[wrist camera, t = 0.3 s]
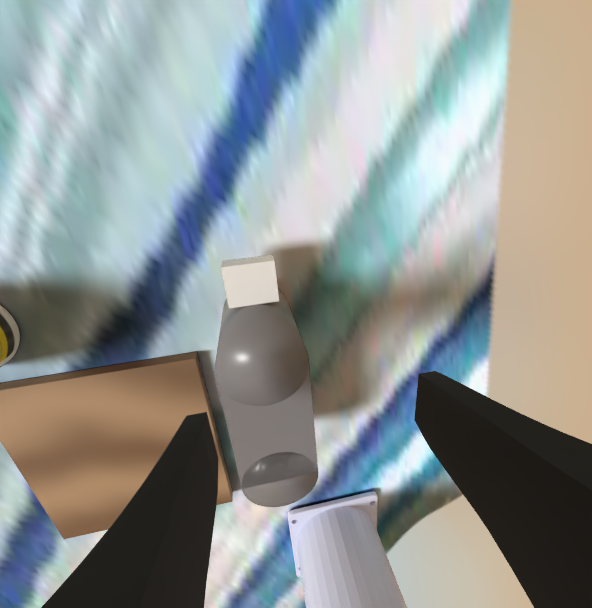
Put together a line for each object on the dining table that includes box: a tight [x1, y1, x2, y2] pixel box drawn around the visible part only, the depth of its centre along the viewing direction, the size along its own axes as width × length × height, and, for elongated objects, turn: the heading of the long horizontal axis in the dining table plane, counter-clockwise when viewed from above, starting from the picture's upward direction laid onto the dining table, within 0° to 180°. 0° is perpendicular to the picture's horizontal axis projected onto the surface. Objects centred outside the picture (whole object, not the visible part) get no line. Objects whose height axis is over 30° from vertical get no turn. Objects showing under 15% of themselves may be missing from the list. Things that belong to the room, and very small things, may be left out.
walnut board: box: [0, 352, 233, 539], centre depth 20 cm, size 13×12×1 cm
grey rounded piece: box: [215, 255, 318, 507], centre depth 16 cm, size 13×4×6 cm, turn 5°
